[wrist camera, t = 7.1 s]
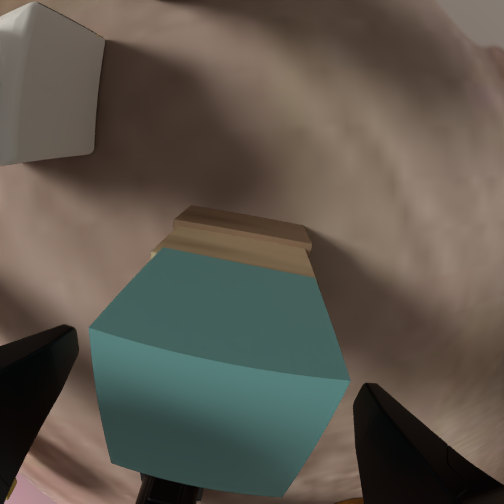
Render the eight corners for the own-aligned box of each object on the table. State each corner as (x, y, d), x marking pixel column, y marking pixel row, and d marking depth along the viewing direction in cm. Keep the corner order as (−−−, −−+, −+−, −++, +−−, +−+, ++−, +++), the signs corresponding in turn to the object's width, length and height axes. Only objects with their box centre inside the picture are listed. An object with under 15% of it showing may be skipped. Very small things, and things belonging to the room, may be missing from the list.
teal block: (278, 390, 12) (282, 497, 7) (154, 365, 12) (111, 462, 7) (314, 277, 10) (350, 380, 5) (162, 247, 10) (88, 327, 5)
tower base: (279, 321, 19) (282, 356, 15) (181, 303, 18) (165, 335, 15) (303, 224, 17) (312, 244, 13) (191, 205, 17) (174, 219, 13)
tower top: (278, 352, 15) (280, 401, 12) (169, 332, 15) (148, 376, 12) (304, 248, 13) (316, 281, 10) (178, 225, 13) (151, 251, 10)
